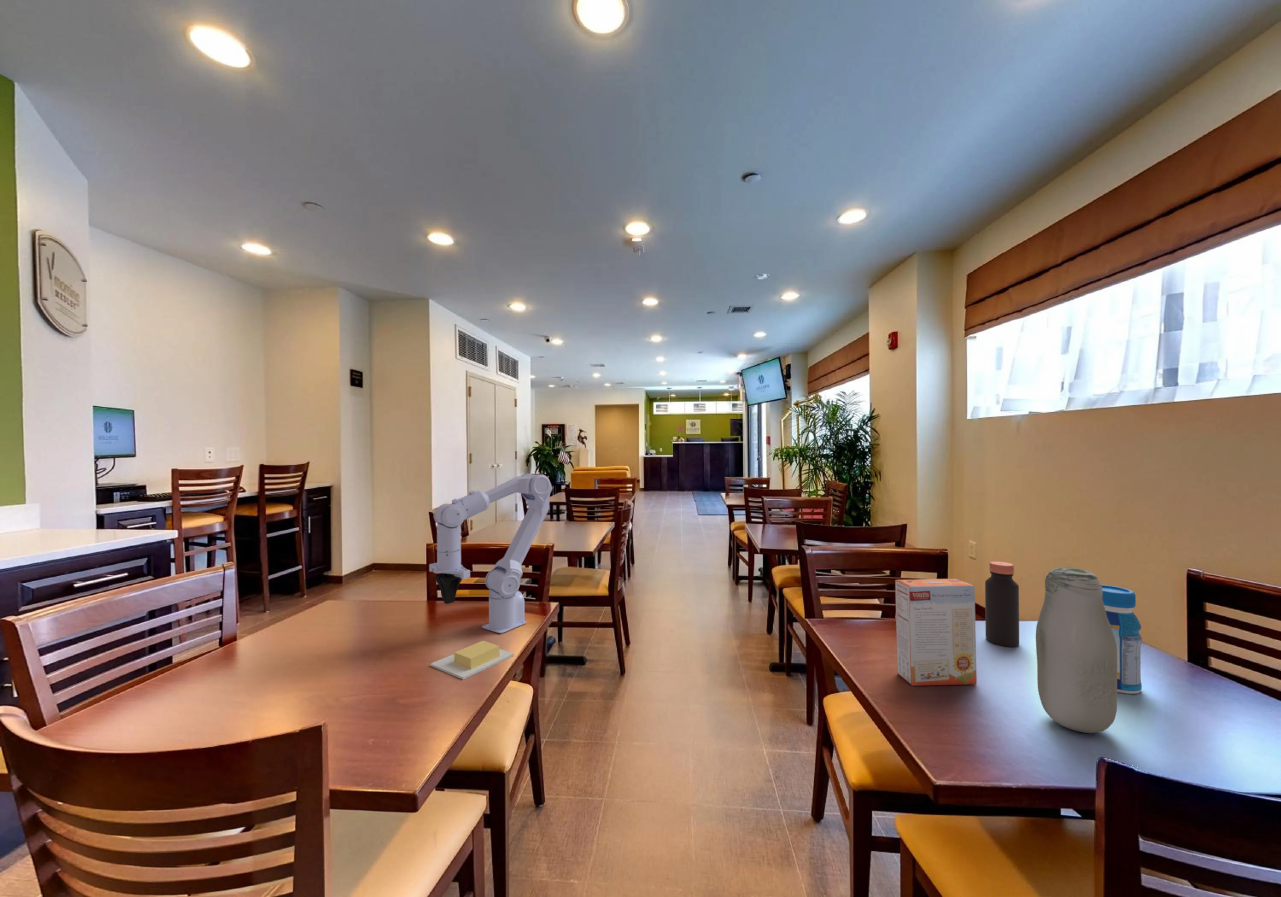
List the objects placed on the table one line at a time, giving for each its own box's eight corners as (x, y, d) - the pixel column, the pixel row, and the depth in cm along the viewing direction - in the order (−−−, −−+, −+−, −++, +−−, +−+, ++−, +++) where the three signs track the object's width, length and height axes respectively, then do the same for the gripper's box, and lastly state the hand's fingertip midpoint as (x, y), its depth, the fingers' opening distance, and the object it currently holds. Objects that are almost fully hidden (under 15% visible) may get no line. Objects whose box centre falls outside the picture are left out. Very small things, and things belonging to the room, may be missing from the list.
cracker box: (957, 672, 102) (956, 577, 103) (978, 686, 96) (977, 585, 97) (894, 673, 102) (894, 577, 102) (911, 686, 96) (910, 585, 96)
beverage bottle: (1150, 699, 91) (1149, 597, 91) (1091, 688, 95) (1090, 590, 95) (1133, 681, 98) (1132, 586, 98) (1079, 671, 102) (1078, 581, 103)
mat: (481, 644, 118) (481, 642, 118) (513, 655, 112) (513, 653, 112) (430, 665, 106) (430, 663, 106) (463, 679, 100) (463, 677, 100)
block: (483, 640, 114) (499, 646, 110) (483, 650, 114) (499, 656, 110) (454, 652, 107) (470, 658, 104) (454, 662, 107) (470, 669, 104)
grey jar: (1074, 710, 87) (1072, 561, 87) (1134, 744, 77) (1132, 575, 77) (1023, 711, 87) (1021, 561, 87) (1076, 746, 77) (1074, 576, 77)
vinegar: (1026, 647, 115) (1025, 566, 115) (998, 647, 115) (997, 566, 115) (1005, 636, 122) (1004, 560, 122) (979, 636, 122) (978, 560, 122)
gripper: (418, 549, 121) (418, 601, 121) (452, 556, 113) (452, 612, 113) (442, 545, 127) (442, 594, 127) (476, 551, 119) (477, 604, 119)
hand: (449, 602), depth 121 cm, fingers closed
